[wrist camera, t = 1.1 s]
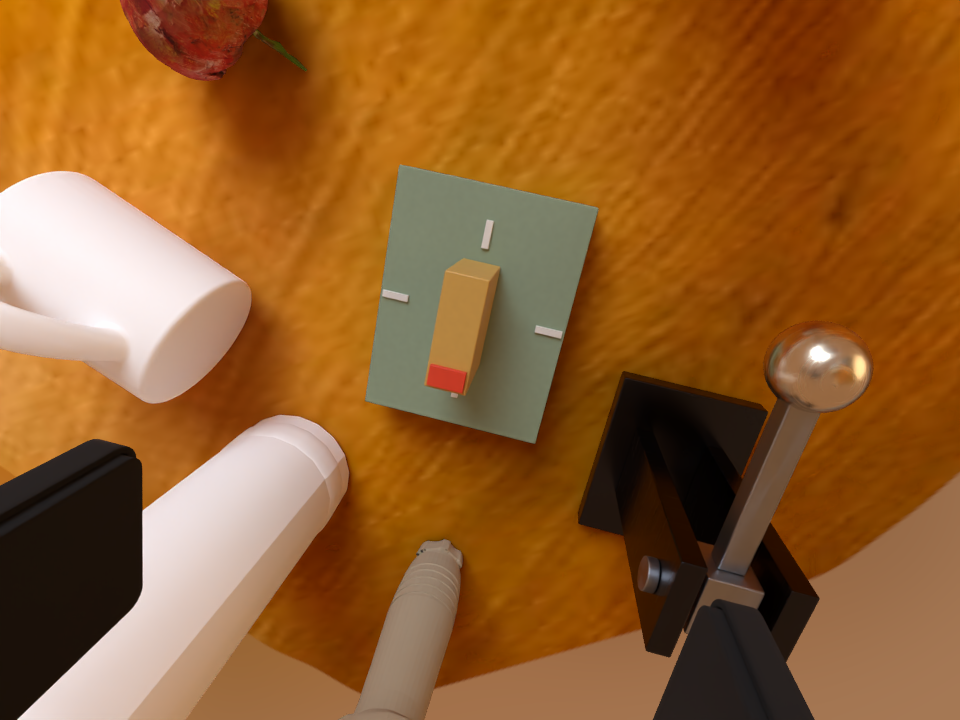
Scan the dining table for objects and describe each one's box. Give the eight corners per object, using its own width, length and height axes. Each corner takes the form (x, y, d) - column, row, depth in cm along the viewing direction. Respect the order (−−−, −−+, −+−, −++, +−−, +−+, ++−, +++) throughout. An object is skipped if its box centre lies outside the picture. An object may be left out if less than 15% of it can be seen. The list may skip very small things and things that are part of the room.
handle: (385, 556, 37) (278, 782, 23) (449, 506, 35) (375, 720, 21) (433, 601, 37) (358, 849, 23) (498, 554, 35) (459, 794, 21)
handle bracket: (622, 370, 30) (665, 487, 18) (761, 403, 30) (899, 546, 18) (577, 513, 34) (588, 692, 22) (701, 545, 33) (784, 748, 21)
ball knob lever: (769, 302, 19) (808, 323, 16) (857, 323, 19) (914, 347, 16) (658, 581, 23) (673, 638, 20) (730, 600, 23) (756, 661, 20)
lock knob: (462, 257, 27) (443, 270, 22) (501, 266, 27) (489, 281, 22) (443, 357, 28) (422, 388, 24) (479, 366, 28) (464, 398, 24)
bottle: (219, 439, 36) (-1063, 1367, 7) (309, 393, 34) (-997, 1433, 5) (283, 531, 37) (-573, 1583, 9) (373, 493, 35) (-375, 1698, 7)
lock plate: (414, 167, 29) (398, 164, 26) (594, 206, 28) (599, 208, 25) (381, 383, 33) (363, 402, 30) (536, 422, 32) (534, 445, 29)
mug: (219, 375, 34) (53, 465, 23) (83, 285, 34) (-157, 331, 22) (272, 272, 32) (113, 316, 20) (125, 171, 31) (-124, 159, 20)
